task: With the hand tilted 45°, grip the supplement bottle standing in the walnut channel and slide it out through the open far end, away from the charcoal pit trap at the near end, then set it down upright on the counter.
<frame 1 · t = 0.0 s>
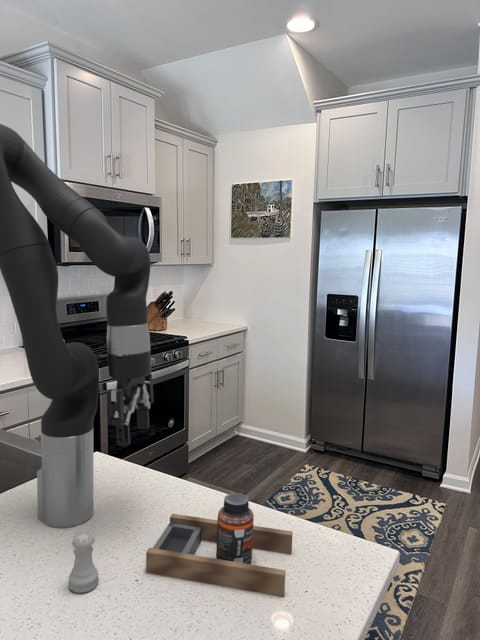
hand: (134, 436, 87), 17 cm above the kitchen island, tool pointing down, fingers open, 8 cm apart
pit trap: (176, 553, 81), on the kitchen island
rook chess piece: (83, 585, 73), on the kitchen island
walnut channel: (222, 560, 79), on the kitchen island
supplement bottle: (233, 564, 79), on the kitchen island
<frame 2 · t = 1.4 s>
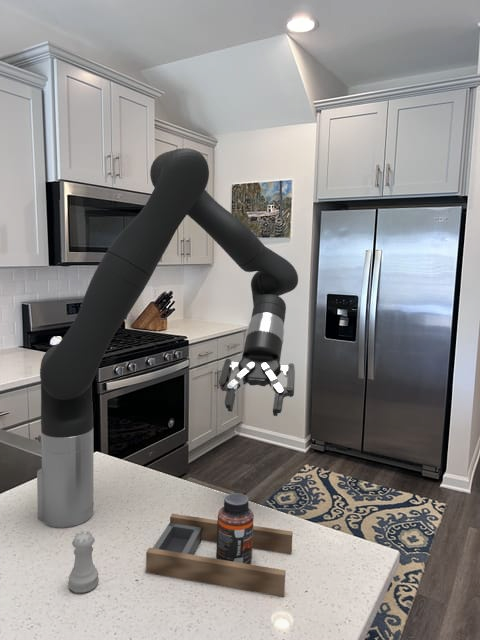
hand: (252, 411, 87), 22 cm above the kitchen island, tool tilted 45°, fingers open, 8 cm apart
nothing on the kitchen island moved.
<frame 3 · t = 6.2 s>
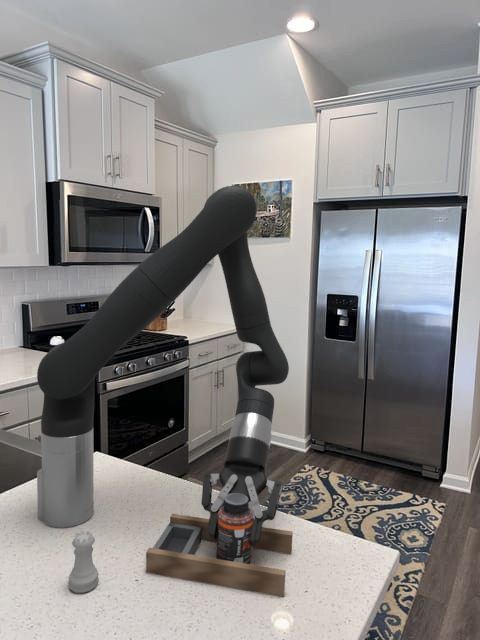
hand: (232, 541, 77), 5 cm above the kitchen island, tool tilted 45°, fingers closed on supplement bottle, 6 cm apart
supplement bottle: (233, 564, 79), on the kitchen island, touching gripper
everything else where it was.
when the fingers open (6 cm above the kitchen island, at t = 11.3 s): supplement bottle stays where it is, on the kitchen island.
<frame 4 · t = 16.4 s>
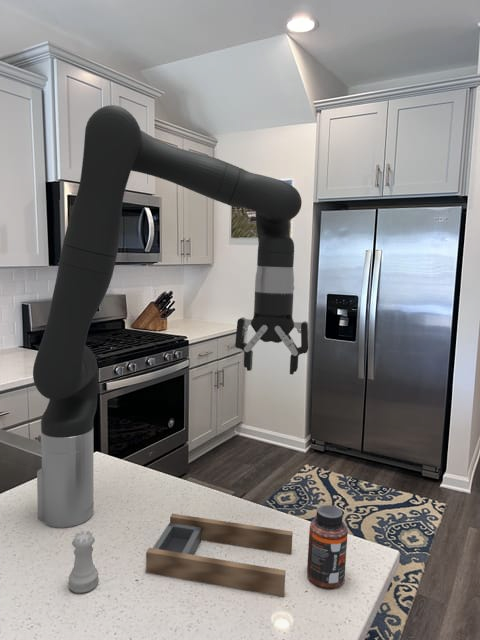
hand: (270, 371, 95), 28 cm above the kitchen island, tool pointing down, fingers open, 8 cm apart
supplement bottle: (325, 578, 76), on the kitchen island
everything else where it was.
at the end: supplement bottle inside the target area (0.5 cm from its centre), on the kitchen island; supplement bottle tilted 0°; the gripper is holding nothing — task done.
